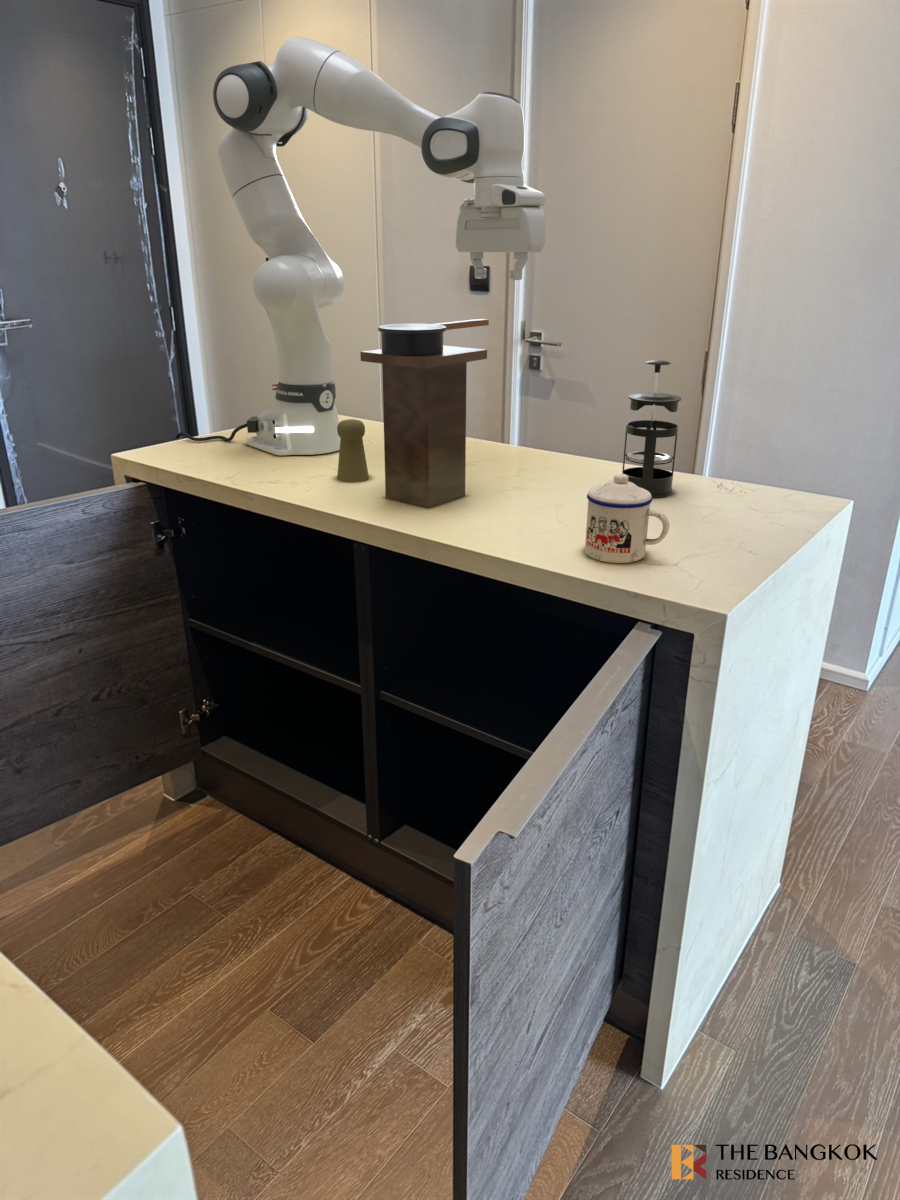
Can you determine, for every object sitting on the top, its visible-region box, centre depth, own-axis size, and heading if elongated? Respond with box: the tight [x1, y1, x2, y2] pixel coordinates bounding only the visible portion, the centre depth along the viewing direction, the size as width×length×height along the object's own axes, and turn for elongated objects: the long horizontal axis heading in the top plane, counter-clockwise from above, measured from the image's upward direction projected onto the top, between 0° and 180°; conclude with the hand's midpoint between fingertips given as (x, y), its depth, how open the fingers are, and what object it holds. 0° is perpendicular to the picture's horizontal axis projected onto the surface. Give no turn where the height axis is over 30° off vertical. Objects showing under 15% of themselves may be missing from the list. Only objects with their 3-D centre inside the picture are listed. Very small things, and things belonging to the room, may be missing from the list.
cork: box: [336, 418, 370, 483], centre depth 162 cm, size 6×6×11 cm
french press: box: [621, 359, 682, 499], centre depth 152 cm, size 12×9×23 cm
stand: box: [359, 344, 488, 509], centre depth 147 cm, size 14×16×25 cm
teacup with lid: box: [584, 473, 670, 564], centre depth 122 cm, size 12×9×12 cm
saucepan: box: [377, 318, 490, 356], centre depth 145 cm, size 11×25×4 cm, turn 141°
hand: (497, 279), depth 159 cm, fingers open, 8 cm apart
